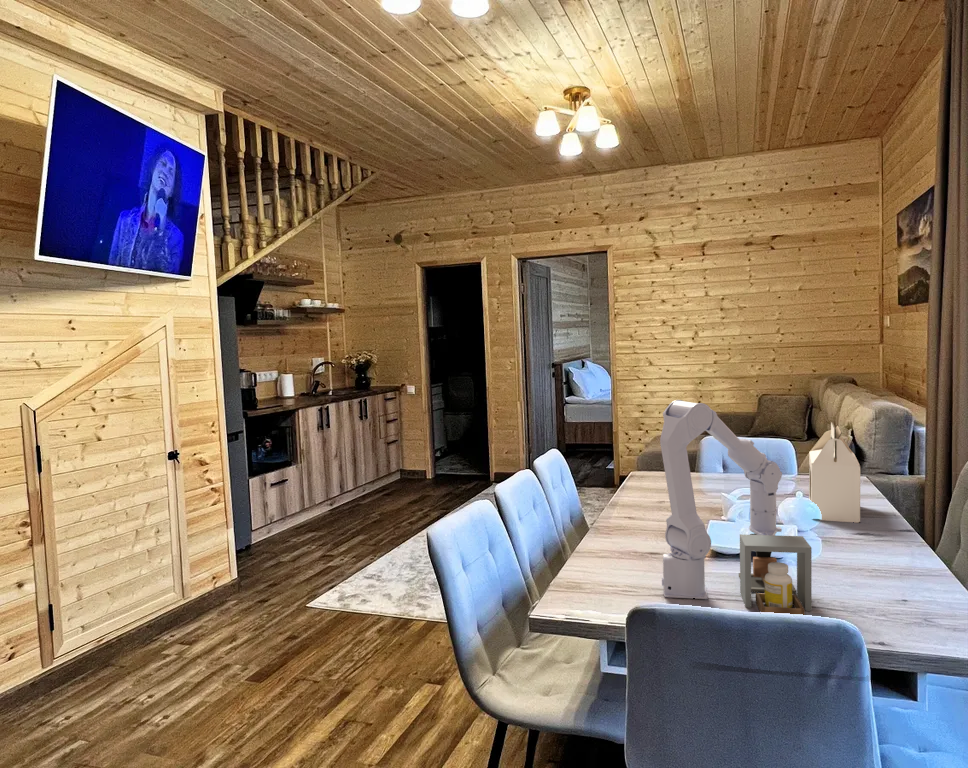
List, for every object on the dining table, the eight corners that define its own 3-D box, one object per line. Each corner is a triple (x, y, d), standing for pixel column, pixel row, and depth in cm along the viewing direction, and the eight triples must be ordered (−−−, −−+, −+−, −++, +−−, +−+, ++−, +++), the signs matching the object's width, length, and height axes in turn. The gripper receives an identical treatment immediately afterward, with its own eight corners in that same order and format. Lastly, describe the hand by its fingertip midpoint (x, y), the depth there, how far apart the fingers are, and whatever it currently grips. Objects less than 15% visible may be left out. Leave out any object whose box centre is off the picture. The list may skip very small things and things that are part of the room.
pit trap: (744, 591, 156) (744, 588, 156) (738, 576, 166) (738, 573, 166) (796, 594, 154) (796, 590, 154) (787, 578, 163) (787, 575, 163)
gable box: (860, 523, 205) (860, 431, 202) (811, 520, 210) (811, 429, 208) (853, 505, 225) (854, 420, 223) (809, 502, 230) (809, 420, 228)
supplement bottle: (784, 604, 149) (784, 560, 148) (797, 614, 143) (797, 568, 142) (760, 605, 148) (760, 561, 148) (771, 615, 143) (771, 570, 142)
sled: (761, 616, 142) (761, 591, 142) (746, 578, 163) (745, 556, 163) (804, 619, 140) (804, 593, 140) (782, 580, 162) (782, 557, 161)
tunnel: (745, 607, 148) (744, 545, 147) (740, 593, 155) (739, 534, 154) (811, 610, 145) (811, 547, 144) (802, 596, 152) (802, 536, 151)
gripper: (787, 518, 154) (787, 576, 155) (775, 501, 168) (775, 555, 170) (754, 517, 156) (754, 575, 157) (744, 501, 170) (745, 554, 171)
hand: (763, 565), depth 163 cm, fingers closed
